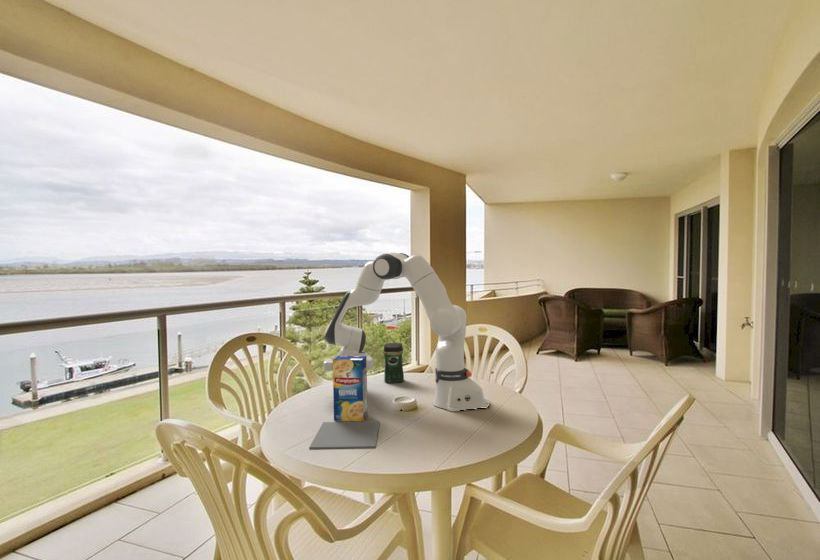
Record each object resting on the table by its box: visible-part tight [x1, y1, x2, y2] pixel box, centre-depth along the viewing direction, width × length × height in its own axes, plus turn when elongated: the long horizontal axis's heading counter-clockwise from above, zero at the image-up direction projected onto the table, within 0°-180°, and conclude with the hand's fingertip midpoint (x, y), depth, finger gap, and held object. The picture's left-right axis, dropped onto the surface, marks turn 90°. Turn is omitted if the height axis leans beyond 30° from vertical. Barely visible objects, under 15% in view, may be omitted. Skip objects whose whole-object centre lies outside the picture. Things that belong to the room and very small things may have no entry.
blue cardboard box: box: [332, 355, 369, 422], centre depth 140 cm, size 7×11×22 cm, turn 84°
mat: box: [309, 420, 381, 450], centre depth 126 cm, size 20×19×1 cm
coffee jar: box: [383, 342, 405, 384], centre depth 185 cm, size 10×8×19 cm
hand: (348, 368), depth 152 cm, fingers closed
